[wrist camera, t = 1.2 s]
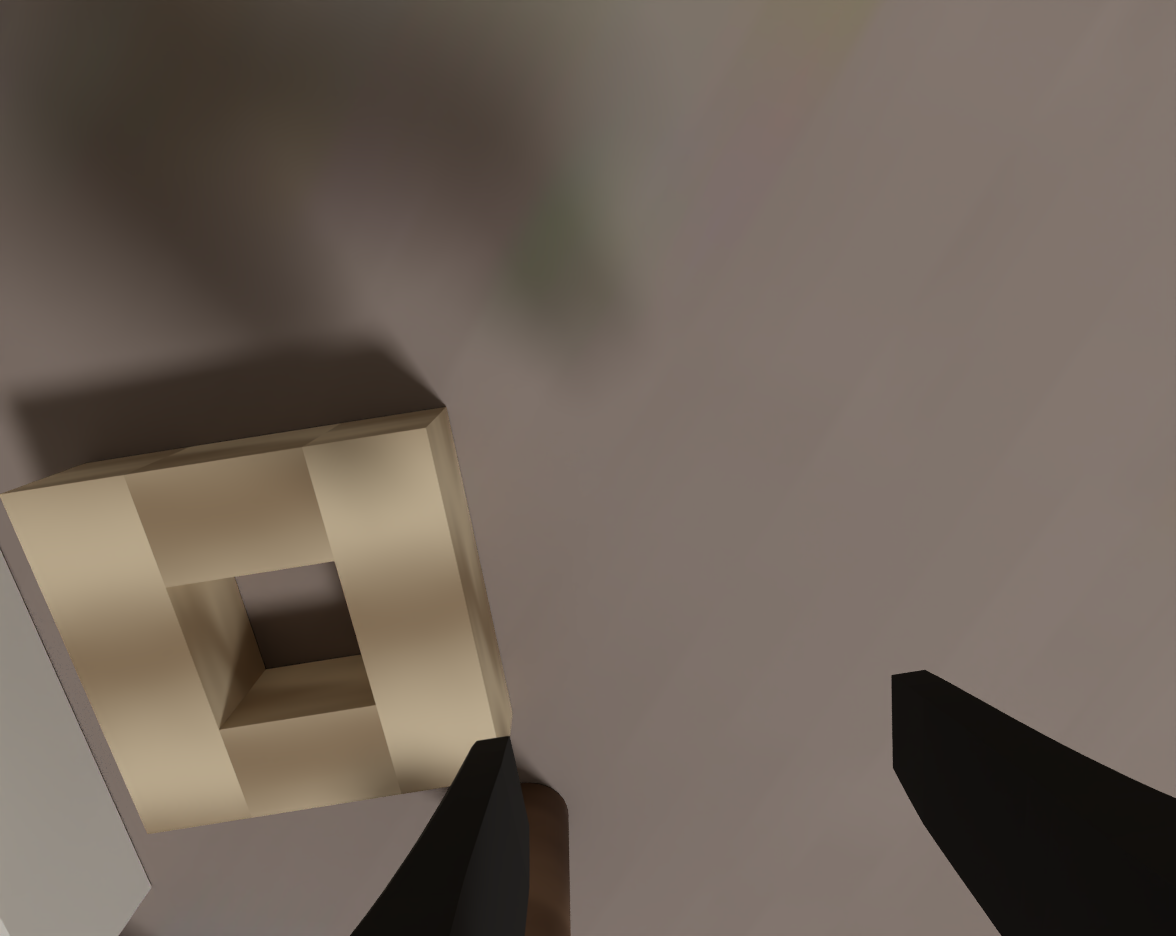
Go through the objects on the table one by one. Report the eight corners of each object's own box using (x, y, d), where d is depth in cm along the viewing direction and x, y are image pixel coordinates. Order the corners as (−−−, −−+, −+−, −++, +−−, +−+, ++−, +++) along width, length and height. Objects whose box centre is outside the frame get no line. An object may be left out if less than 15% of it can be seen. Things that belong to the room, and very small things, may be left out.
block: (512, 713, 22) (505, 777, 19) (202, 762, 22) (147, 833, 19) (446, 406, 19) (425, 428, 16) (85, 463, 19) (-1, 494, 16)
